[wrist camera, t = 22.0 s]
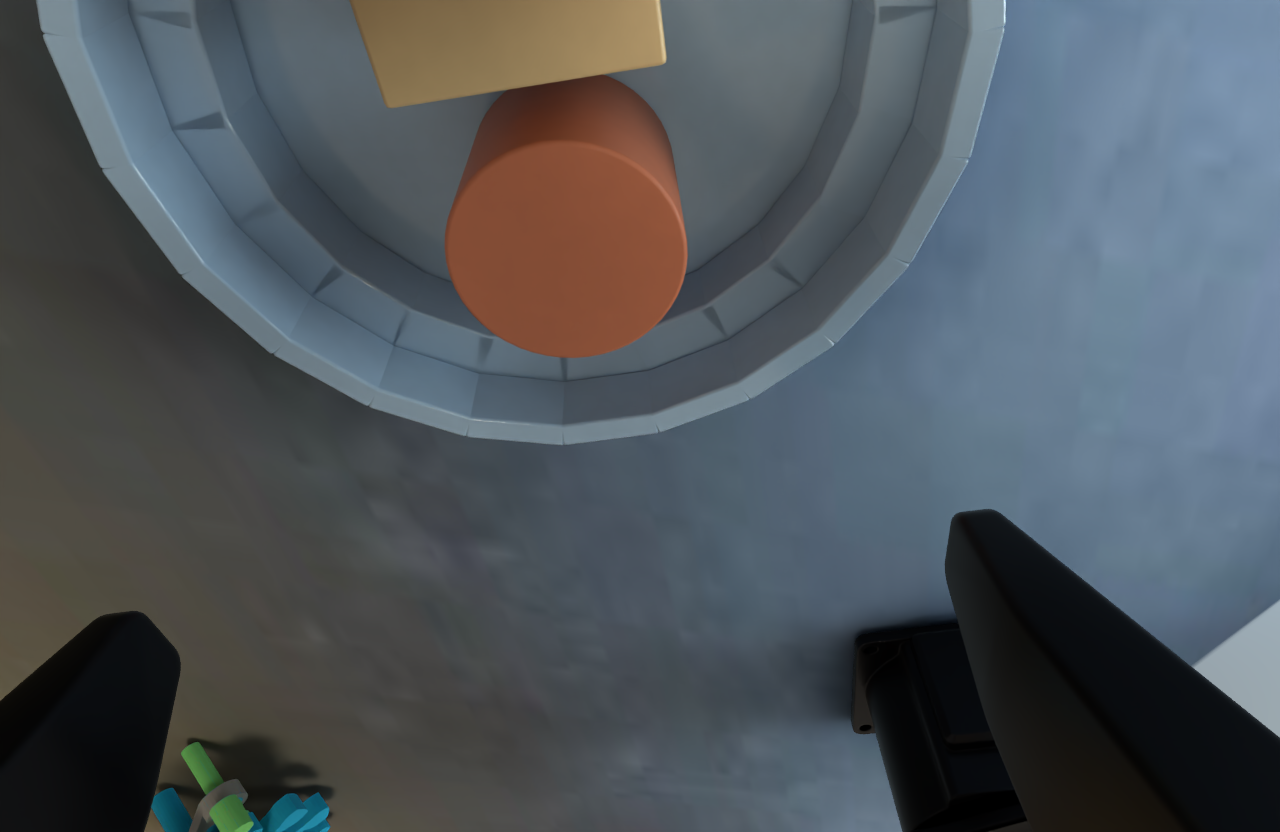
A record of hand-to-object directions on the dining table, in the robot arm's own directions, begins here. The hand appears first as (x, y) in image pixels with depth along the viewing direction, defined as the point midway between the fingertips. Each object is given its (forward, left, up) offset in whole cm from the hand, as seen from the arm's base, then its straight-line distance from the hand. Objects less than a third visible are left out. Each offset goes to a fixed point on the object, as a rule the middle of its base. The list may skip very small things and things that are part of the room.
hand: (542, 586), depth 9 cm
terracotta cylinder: (0, 0, -11) cm, 11 cm away
